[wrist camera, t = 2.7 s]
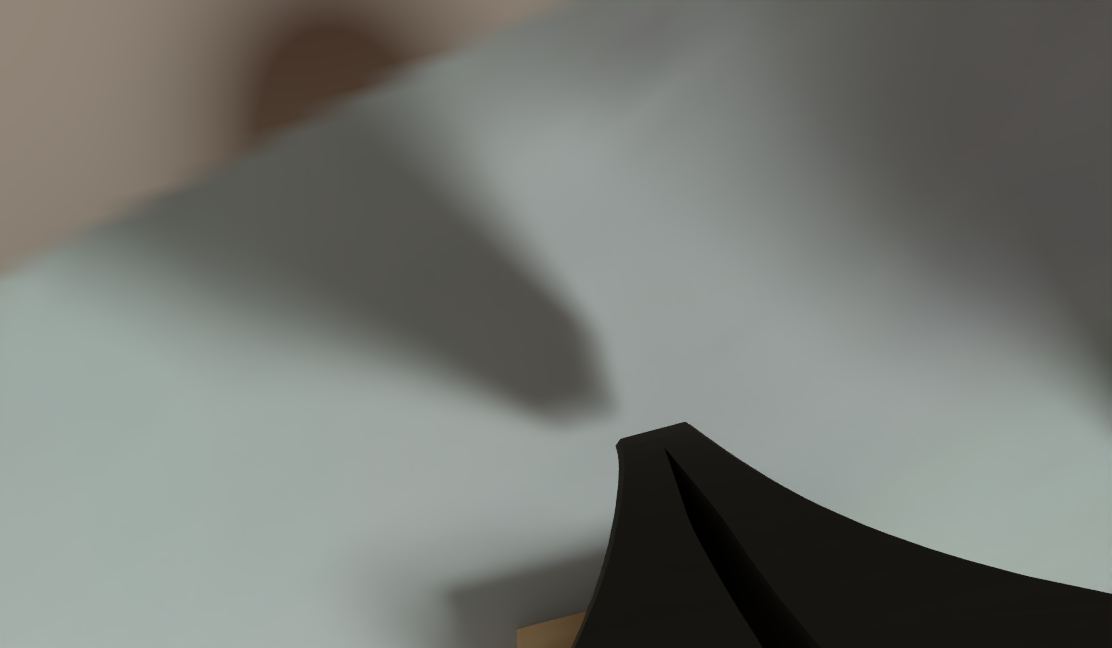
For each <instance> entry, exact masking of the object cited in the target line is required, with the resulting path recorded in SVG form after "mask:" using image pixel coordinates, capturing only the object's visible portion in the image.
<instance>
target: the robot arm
mask: <svg viewBox="0 0 1112 648" xmlns="http://www.w3.org/2000/svg"><path fill="white" fill-rule="evenodd" d="M616 449H617V453H618V459H619V480H618V491H617V499H616V508H615V514H614V519H613V524H612V529H611V534H610V538H609V543H608V548H607V551H606V555H605V559H604V563H603V566H602V569H601V573H600V576H599V579H598V582H597V585H596V588H595V591H594V594H593V596H592V599H591V601H590V604H589V607H588V609H587V612H586V614H585V617H584V619H583V622H582V624H581V627H580V629H579V631H578V634H577V636H576V638H575V640H574V642H573V645H572V647H571V648H1112V594H1110V593H1105V592H1100V591H1096V590H1091V589H1086V588H1081V587H1077V586H1072V585H1067V584H1062V583H1058V582H1053V581H1048V580H1043V579H1038V578H1034V577H1029V576H1025V575H1021V574H1017V573H1013V572H1009V571H1006V570H1002V569H998V568H994V567H991V566H987V565H983V564H980V563H976V562H972V561H969V560H965V559H962V558H958V557H955V556H952V555H949V554H945V553H942V552H939V551H935V550H932V549H929V548H926V547H923V546H920V545H918V544H915V543H912V542H909V541H906V540H903V539H901V538H898V537H895V536H892V535H889V534H886V533H884V532H881V531H878V530H876V529H873V528H871V527H868V526H866V525H863V524H861V523H858V522H856V521H854V520H852V519H849V518H847V517H845V516H842V515H840V514H838V513H836V512H833V511H831V510H829V509H827V508H824V507H822V506H820V505H818V504H816V503H814V502H812V501H810V500H808V499H806V498H804V497H802V496H800V495H798V494H796V493H795V492H793V491H791V490H789V489H787V488H785V487H784V486H782V485H780V484H778V483H777V482H775V481H773V480H772V479H770V478H768V477H766V476H765V475H763V474H762V473H760V472H758V471H757V470H755V469H754V468H752V467H751V466H749V465H747V464H746V463H744V462H743V461H741V460H740V459H738V458H737V457H735V456H733V455H732V454H731V453H729V452H728V451H726V450H725V449H723V448H722V447H720V446H719V445H718V444H716V443H715V442H713V441H712V440H711V439H709V438H708V437H706V436H705V435H704V434H702V433H701V432H700V431H698V430H697V429H696V428H694V427H693V426H691V425H690V424H688V423H686V422H682V423H679V424H675V425H671V426H667V427H664V428H660V429H656V430H652V431H648V432H645V433H641V434H637V435H633V436H629V437H626V438H622V439H620V440H619V442H618V443H617V445H616Z"/></svg>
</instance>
